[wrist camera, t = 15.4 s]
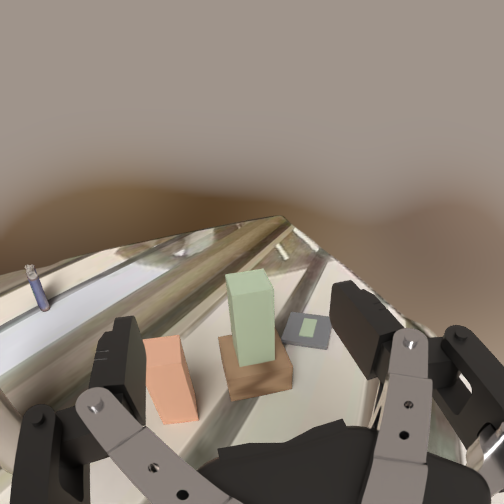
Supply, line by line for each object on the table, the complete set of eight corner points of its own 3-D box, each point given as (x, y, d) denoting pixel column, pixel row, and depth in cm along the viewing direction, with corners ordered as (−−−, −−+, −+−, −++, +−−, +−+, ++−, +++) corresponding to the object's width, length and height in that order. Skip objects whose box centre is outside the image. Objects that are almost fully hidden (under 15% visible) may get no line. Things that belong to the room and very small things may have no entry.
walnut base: (231, 401, 42) (227, 379, 40) (221, 359, 50) (218, 337, 48) (291, 388, 44) (292, 366, 42) (275, 349, 52) (274, 326, 50)
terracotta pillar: (163, 424, 39) (138, 367, 33) (162, 398, 43) (140, 339, 38) (198, 420, 39) (181, 362, 34) (195, 394, 44) (179, 334, 38)
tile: (280, 342, 53) (280, 338, 53) (291, 315, 60) (291, 310, 60) (327, 349, 51) (327, 345, 50) (332, 320, 58) (333, 316, 57)
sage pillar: (239, 367, 42) (231, 295, 37) (233, 343, 47) (225, 274, 41) (274, 360, 43) (273, 288, 38) (265, 337, 47) (263, 268, 42)
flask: (51, 309, 63) (35, 269, 59) (41, 314, 62) (25, 274, 57) (44, 293, 69) (31, 256, 65) (35, 298, 68) (21, 261, 63)
